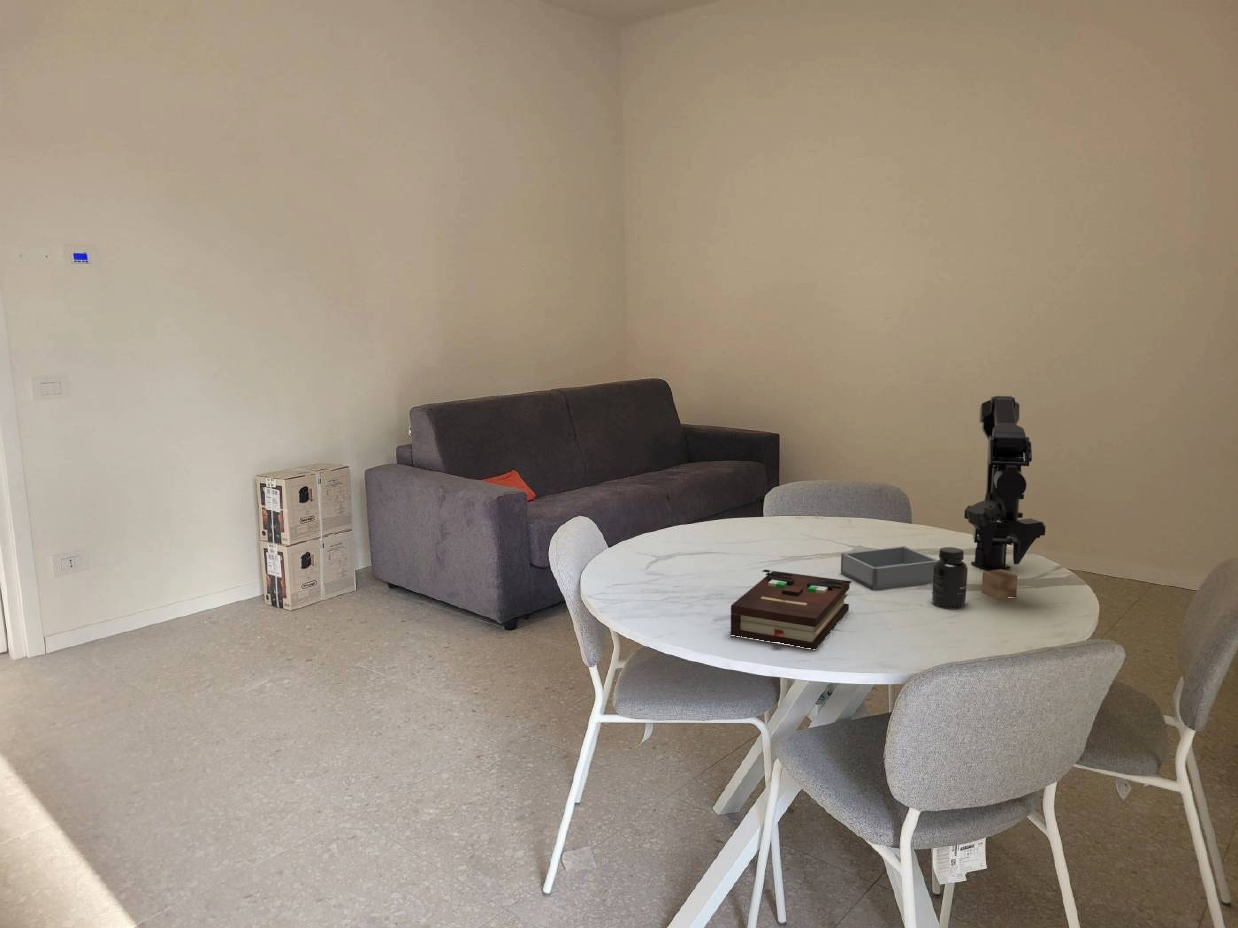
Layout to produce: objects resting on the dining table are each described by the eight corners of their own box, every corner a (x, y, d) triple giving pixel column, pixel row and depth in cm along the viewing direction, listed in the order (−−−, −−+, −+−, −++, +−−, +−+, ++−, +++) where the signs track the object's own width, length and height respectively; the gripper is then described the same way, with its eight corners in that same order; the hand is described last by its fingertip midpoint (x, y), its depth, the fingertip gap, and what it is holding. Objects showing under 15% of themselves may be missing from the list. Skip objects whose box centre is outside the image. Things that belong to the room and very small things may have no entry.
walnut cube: (1000, 590, 204) (1001, 569, 203) (1016, 597, 199) (1017, 575, 198) (981, 593, 202) (982, 571, 201) (997, 600, 198) (998, 578, 197)
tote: (903, 565, 223) (904, 546, 222) (939, 581, 210) (940, 561, 209) (840, 573, 217) (841, 553, 217) (873, 590, 205) (874, 569, 204)
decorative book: (720, 603, 176) (770, 563, 202) (720, 641, 177) (770, 596, 203) (818, 619, 167) (858, 574, 193) (817, 658, 168) (857, 608, 194)
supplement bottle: (968, 610, 191) (971, 554, 189) (934, 608, 193) (936, 553, 191) (962, 599, 198) (965, 546, 196) (929, 597, 199) (932, 544, 197)
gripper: (946, 483, 203) (942, 551, 206) (1005, 500, 185) (1001, 574, 188) (987, 479, 206) (983, 546, 209) (1049, 496, 189) (1044, 568, 192)
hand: (1001, 558), depth 199 cm, fingers open, 9 cm apart
